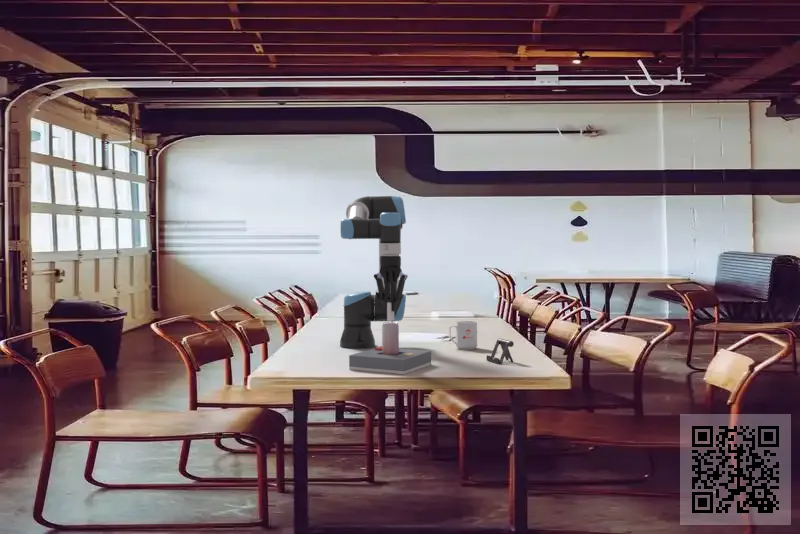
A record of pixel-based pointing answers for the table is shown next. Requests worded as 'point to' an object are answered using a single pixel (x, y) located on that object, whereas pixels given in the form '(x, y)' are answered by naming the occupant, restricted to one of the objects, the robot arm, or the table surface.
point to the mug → (465, 335)
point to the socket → (390, 361)
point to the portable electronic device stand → (506, 353)
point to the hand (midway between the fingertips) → (390, 320)
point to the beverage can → (390, 338)
